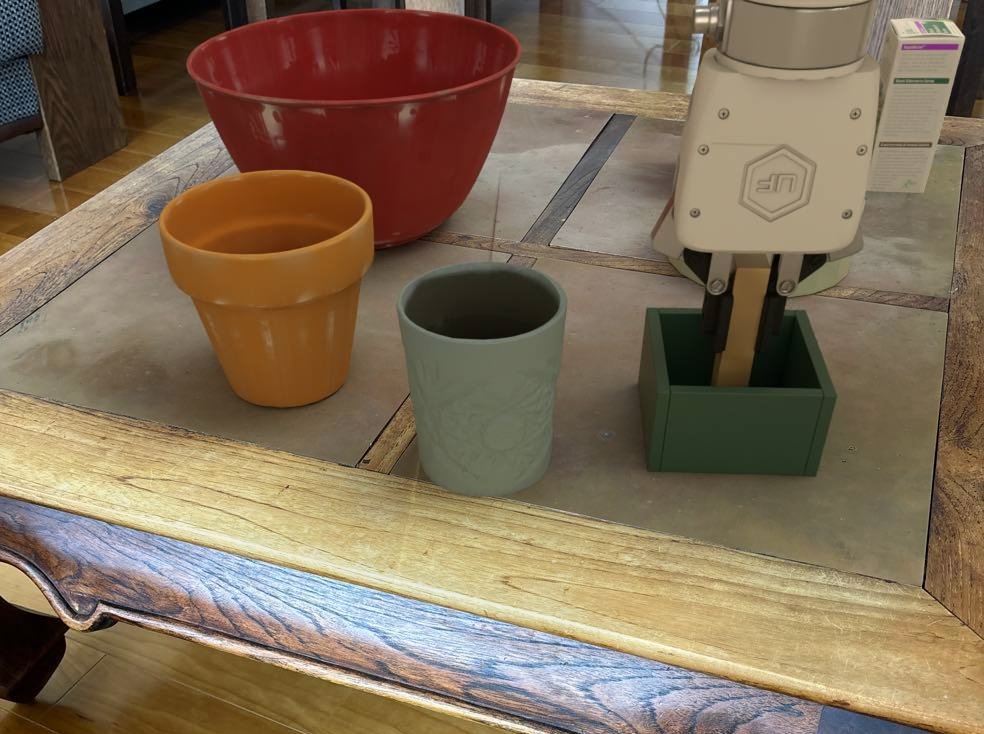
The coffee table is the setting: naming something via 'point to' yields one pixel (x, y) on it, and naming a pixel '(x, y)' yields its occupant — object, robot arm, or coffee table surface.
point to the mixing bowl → (364, 104)
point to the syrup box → (912, 101)
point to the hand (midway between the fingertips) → (737, 340)
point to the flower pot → (274, 277)
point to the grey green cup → (483, 373)
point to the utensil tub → (732, 401)
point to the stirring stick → (742, 320)
